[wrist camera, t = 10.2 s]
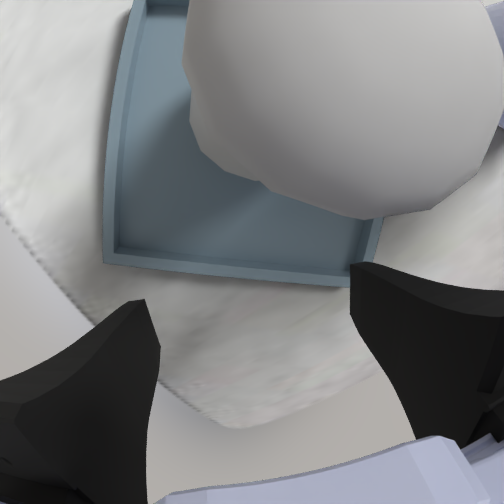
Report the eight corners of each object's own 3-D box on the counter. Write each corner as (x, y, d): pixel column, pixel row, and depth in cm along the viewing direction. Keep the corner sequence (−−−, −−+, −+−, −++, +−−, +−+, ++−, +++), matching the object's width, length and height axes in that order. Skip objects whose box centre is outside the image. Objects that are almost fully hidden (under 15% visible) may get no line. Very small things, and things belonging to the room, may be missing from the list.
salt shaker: (274, 195, 16) (430, 374, 4) (172, 138, 14) (-12, 152, 2) (334, 98, 14) (575, 59, 2) (235, 38, 13) (286, -177, 1)
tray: (396, 46, 14) (410, 41, 12) (354, 277, 18) (364, 288, 17) (143, 0, 12) (136, -11, 10) (111, 252, 16) (102, 263, 15)
